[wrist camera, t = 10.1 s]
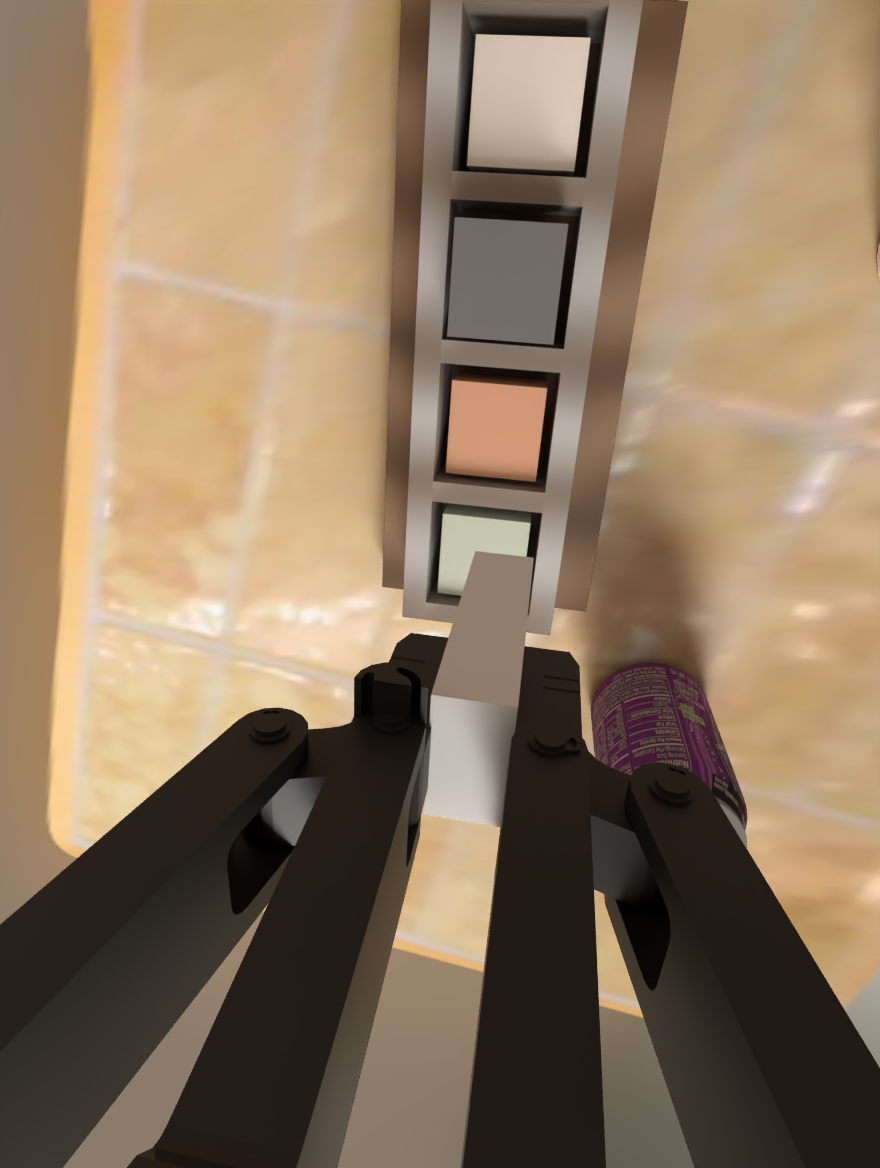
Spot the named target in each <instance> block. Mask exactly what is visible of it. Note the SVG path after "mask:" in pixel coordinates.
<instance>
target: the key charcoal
mask: <svg viewBox="0 0 880 1168" xmlns="http://www.w3.org/2000/svg"><path fill="white" fill-rule="evenodd" d="M567 231H568V224H561V223H545V222H528V221H512V220H495V219H478V218H462V217H455V221H454V237H453V253H452V268H451V284H450V299H449V315H448V330H447V336H449V337H461V338H474V339H487V340H499V341H512V342H524V343H537V344H549V345H553V344H554V335H555V327H556V319H557V311H558V303H559V295H560V287H561V279H562V271H563V263H564V255H565V247H566V239H567Z"/></svg>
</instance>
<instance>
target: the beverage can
mask: <svg viewBox="0 0 880 1168" xmlns="http://www.w3.org/2000/svg"><path fill="white" fill-rule="evenodd" d="M591 720H592V731H593V741H594V752H595V758H596V759H597V760H599V761H600V762H602V763H603V764H605V765H607V766H609V767H611V768H613V769H615V770H618V771H621V772H623V773H626V774H629V775H632V773H633V771H634V770H635V769H636V768H638V767H640V766H641V765H643V764H648V763H654V762H660V763H668V764H673V765H676V766H679V767H682V768H684V769H687V770H689V771H690V772H692V773H693V774H695V775H697V776H698V777H700V778H701V779H702V780H703V781H704V782H705V784H706V785H707V786H708V787H709V788H710V789H711V791H712V793H713V794H714V796H715V797H716V799H717V801H718V802H719V804H720V806H721V807H722V809H723V811H724V812H725V814H726V816H727V817H728V819H729V821H730V822H731V824H732V826H733V827H734V829H735V830H736V832H737V834H738V835H739V837H740V839H741V840H742V842H743V844H744V845H745V847H746V848H747V839H746V834H745V829H746V825H747V809H746V804H745V801H744V798H743V795H742V792H741V790H740V787H739V784H738V782H737V779H736V776H735V773H734V771H733V768H732V765H731V763H730V760H729V757H728V755H727V752H726V749H725V746H724V744H723V741H722V738H721V736H720V733H719V730H718V728H717V725H716V722H715V720H714V717H713V714H712V711H711V709H710V706H709V703H708V701H707V698H706V695H705V693H704V691H703V689H702V688H701V686H700V685H699V684H698V683H697V682H696V681H695V680H694V679H693V678H692V677H691V676H690V675H688V674H687V673H685V672H683V671H681V670H679V669H677V668H675V667H672V666H668V665H663V664H655V663H646V664H638V665H633V666H630V667H627V668H624V669H622V670H620V671H618V672H616V673H614V674H613V675H611V676H610V677H609V678H608V679H606V680H605V681H604V682H603V683H602V685H601V686H600V687H599V689H598V690H597V692H596V694H595V696H594V698H593V701H592V706H591Z"/></svg>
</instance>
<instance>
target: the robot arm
mask: <svg viewBox="0 0 880 1168" xmlns="http://www.w3.org/2000/svg"><path fill="white" fill-rule="evenodd" d="M533 559H534V558H532V557H523V556H514V555H506V554H497V553H488V552H480V551H475V554H474V557H473V560H472V563H471V567H470V570H469V573H468V576H467V580H466V583H465V586H464V589H463V593H462V596H461V599H460V602H459V606H458V609H457V612H456V615H455V619H454V622H453V625H452V628H451V632H450V635H449V638H445V637H437V636H430V635H422V634H414V633H410V634H409V635H408V636H406V637H405V638H404V639H402V640H401V641H400V642H398V643H397V645H396V647H395V649H394V651H393V654H392V656H391V659H390V661H389V663H380V664H375V665H371V666H369V667H367V668H365V669H363V670H361V671H360V672H359V673H358V674H357V675H356V676H355V677H354V718H353V720H352V722H351V723H349V724H346V725H343V726H339V727H333V728H323V729H309V730H308V723H307V721H306V720H305V719H304V717H303V716H302V715H300V714H298V713H297V712H295V711H293V710H289V709H283V708H265V709H261V710H258V711H254V712H251V713H249V714H247V715H246V716H244V717H242V718H241V719H239V720H238V721H237V722H235V723H234V724H233V725H232V726H231V727H230V728H229V729H227V730H226V731H225V732H224V733H223V734H222V735H220V736H219V737H218V738H217V739H216V740H215V741H213V742H212V743H211V744H210V745H209V746H208V747H206V748H205V749H204V750H203V751H202V752H201V753H199V754H198V755H197V756H196V757H195V758H194V759H192V760H191V761H190V762H189V763H188V764H187V765H185V766H184V767H183V768H182V769H181V770H180V771H178V772H177V773H176V774H175V775H174V776H173V777H171V778H170V779H169V780H168V781H167V782H166V783H165V784H163V785H162V786H161V787H160V788H159V789H158V790H156V791H155V792H154V793H153V794H152V795H151V796H149V797H148V798H147V799H146V800H145V801H144V802H142V803H141V804H140V805H139V806H138V807H137V808H135V809H134V810H133V811H132V812H131V813H130V814H128V815H127V816H126V817H125V818H124V819H123V820H121V821H120V822H119V823H118V824H117V825H116V826H114V827H113V828H112V829H111V830H110V831H109V832H107V833H106V834H105V835H104V836H103V837H102V838H101V839H99V840H98V841H97V842H96V843H95V844H94V845H92V846H91V847H90V848H89V849H88V850H87V851H85V852H84V853H83V854H82V855H81V856H80V857H78V858H77V859H76V860H75V861H74V862H73V863H71V864H70V865H69V866H68V867H67V868H66V869H64V870H63V871H62V872H61V873H60V874H59V875H57V876H56V877H55V878H54V879H53V880H52V881H51V882H49V883H48V884H47V885H46V886H45V887H43V888H42V889H41V890H40V891H39V892H38V893H37V894H35V895H34V896H33V897H32V898H31V899H30V900H28V901H27V902H26V903H25V904H24V905H23V906H21V907H20V908H19V909H18V910H17V911H16V912H14V913H13V914H12V915H11V916H10V917H9V918H7V919H6V920H5V921H4V922H3V923H2V924H0V1168H63V1167H64V1165H65V1164H66V1163H67V1162H68V1160H69V1159H70V1158H71V1156H72V1155H73V1154H74V1153H75V1151H76V1150H77V1149H78V1148H79V1146H80V1145H81V1144H82V1142H83V1141H84V1140H85V1139H86V1137H87V1136H88V1135H89V1133H90V1132H91V1131H92V1130H93V1128H94V1127H95V1126H96V1124H97V1123H98V1122H99V1121H100V1119H101V1118H102V1117H103V1115H104V1114H105V1113H106V1112H107V1110H108V1109H109V1108H110V1106H111V1105H112V1104H113V1103H114V1101H115V1100H116V1099H117V1097H118V1096H119V1095H120V1094H121V1092H122V1091H123V1090H124V1088H125V1087H126V1086H127V1084H128V1083H129V1082H130V1081H131V1079H132V1078H133V1077H134V1075H135V1074H136V1073H137V1072H138V1070H139V1069H140V1068H141V1066H142V1065H143V1064H144V1063H145V1061H146V1060H147V1059H148V1057H149V1056H150V1055H151V1054H152V1052H153V1051H154V1050H155V1048H156V1047H157V1046H158V1045H159V1043H160V1042H161V1040H162V1039H163V1038H164V1037H165V1036H166V1034H167V1033H168V1032H169V1030H170V1029H171V1028H172V1027H173V1025H174V1024H175V1023H176V1021H177V1020H178V1019H179V1018H180V1016H181V1015H182V1014H183V1012H184V1011H185V1010H186V1009H187V1007H188V1006H189V1005H190V1003H191V1002H192V1001H193V1000H194V998H195V997H196V996H197V995H198V993H199V992H200V991H201V989H202V988H203V987H204V985H205V984H206V983H207V982H208V980H209V979H210V978H211V976H212V975H213V974H214V973H215V971H216V970H217V969H218V967H219V966H220V965H221V964H222V962H223V961H224V960H225V958H226V957H227V956H228V955H229V953H230V952H231V951H232V949H233V948H234V947H235V945H236V944H237V943H238V942H239V940H240V939H241V938H242V937H243V935H244V934H245V933H246V931H247V930H248V929H249V928H250V926H251V925H252V924H253V922H254V921H255V920H256V919H257V917H258V916H259V915H260V913H261V912H262V911H263V910H264V908H265V907H266V906H267V904H268V903H269V904H268V906H267V908H266V910H265V912H264V914H263V917H262V919H261V921H260V923H259V925H258V928H257V930H256V932H255V934H254V936H253V939H252V941H251V943H250V945H249V947H248V949H247V952H246V954H245V956H244V958H243V961H242V963H241V965H240V967H239V969H238V971H237V974H236V976H235V978H234V980H233V982H232V984H231V987H230V989H229V991H228V993H227V995H226V998H225V1000H224V1002H223V1004H222V1006H221V1009H220V1011H219V1013H218V1015H217V1017H216V1020H215V1022H214V1024H213V1026H212V1028H211V1030H210V1033H209V1035H208V1037H207V1039H206V1041H205V1043H204V1046H203V1048H202V1050H201V1052H200V1054H199V1057H198V1059H197V1061H196V1063H195V1065H194V1068H193V1070H192V1072H191V1074H190V1076H189V1079H188V1081H187V1083H186V1085H185V1087H184V1089H183V1092H182V1094H181V1096H180V1098H179V1101H178V1103H177V1105H176V1107H175V1109H174V1111H173V1113H172V1116H171V1118H170V1120H169V1122H168V1124H167V1126H166V1128H165V1130H164V1132H163V1134H162V1136H161V1138H160V1139H159V1140H158V1142H157V1143H156V1144H155V1145H154V1147H153V1148H151V1149H149V1150H147V1151H145V1152H143V1153H141V1154H139V1155H137V1156H136V1157H135V1158H134V1159H133V1161H132V1162H131V1163H130V1164H129V1166H128V1167H127V1168H337V1167H338V1162H339V1159H340V1155H341V1150H342V1147H343V1142H344V1139H345V1135H346V1130H347V1126H348V1122H349V1118H350V1114H351V1110H352V1106H353V1102H354V1098H355V1094H356V1090H357V1086H358V1082H359V1078H360V1074H361V1070H362V1066H363V1062H364V1058H365V1054H366V1050H367V1046H368V1042H369V1038H370V1034H371V1029H372V1026H373V1021H374V1017H375V1014H376V1010H377V1005H378V1001H379V997H380V994H381V990H382V985H383V981H384V977H385V973H386V969H387V965H388V961H389V957H390V953H391V949H392V945H393V941H394V937H395V933H396V929H397V925H398V921H399V917H400V913H401V909H402V905H403V901H404V897H405V893H406V889H407V885H408V881H409V877H410V873H411V869H412V865H413V861H414V857H415V853H416V849H417V845H418V840H419V836H420V821H421V813H422V809H423V805H424V815H430V816H436V817H442V818H448V819H454V820H460V821H466V822H472V823H478V824H484V825H491V826H497V827H501V829H500V837H499V845H498V853H497V860H496V868H495V876H494V887H493V896H492V904H491V913H490V921H489V930H488V938H487V947H486V955H485V964H484V973H483V981H482V990H481V998H480V1007H479V1015H478V1024H477V1032H476V1041H475V1050H474V1058H473V1067H472V1075H471V1084H470V1092H469V1101H468V1109H467V1118H466V1126H465V1135H464V1143H463V1153H462V1161H461V1168H606V1159H605V1136H604V1113H603V1089H602V1068H601V1067H602V1066H601V1044H600V1020H599V997H598V974H597V951H596V927H595V904H594V889H595V890H597V891H599V892H601V893H603V894H604V897H605V905H606V908H607V911H608V914H609V917H610V920H611V923H612V926H613V928H614V931H615V934H616V937H617V940H618V943H619V946H620V949H621V952H622V955H623V958H624V961H625V964H626V967H627V970H628V973H629V976H630V979H631V982H632V984H633V987H634V990H635V993H636V996H637V999H638V1002H639V1005H640V1008H641V1011H642V1014H643V1017H644V1020H645V1023H646V1026H647V1029H648V1032H649V1034H650V1037H651V1040H652V1043H653V1046H654V1049H655V1052H656V1055H657V1058H658V1061H659V1064H660V1067H661V1070H662V1073H663V1076H664V1079H665V1081H666V1085H667V1088H668V1091H669V1093H670V1096H671V1099H672V1102H673V1105H674V1108H675V1111H676V1114H677V1117H678V1120H679V1123H680V1126H681V1129H682V1131H683V1135H684V1138H685V1141H686V1144H687V1146H688V1149H689V1152H690V1155H691V1158H692V1161H693V1164H694V1167H695V1168H880V1068H879V1066H878V1065H877V1063H876V1061H875V1060H874V1058H873V1056H872V1055H871V1053H870V1051H869V1050H868V1048H867V1046H866V1045H865V1043H864V1041H863V1040H862V1038H861V1036H860V1035H859V1033H858V1031H857V1030H856V1028H855V1027H854V1025H853V1023H852V1022H851V1020H850V1018H849V1017H848V1015H847V1013H846V1012H845V1010H844V1008H843V1007H842V1005H841V1003H840V1002H839V1000H838V999H837V997H836V995H835V994H834V992H833V990H832V989H831V987H830V985H829V984H828V982H827V980H826V979H825V977H824V975H823V974H822V972H821V971H820V969H819V967H818V966H817V964H816V962H815V961H814V959H813V957H812V956H811V954H810V952H809V951H808V949H807V947H806V946H805V944H804V943H803V941H802V939H801V938H800V936H799V934H798V933H797V931H796V929H795V928H794V926H793V924H792V923H791V921H790V919H789V918H788V916H787V914H786V913H785V911H784V910H783V908H782V906H781V905H780V903H779V901H778V900H777V898H776V896H775V895H774V893H773V891H772V890H771V888H770V886H769V885H768V883H767V882H766V880H765V878H764V877H763V875H762V873H761V872H760V870H759V868H758V867H757V865H756V863H755V862H754V860H753V858H752V857H751V855H750V854H749V852H748V850H747V849H746V847H745V845H744V844H743V842H742V840H741V839H740V837H739V835H738V834H737V832H736V830H735V829H734V827H733V826H732V824H731V822H730V821H729V819H728V817H727V816H726V814H725V812H724V811H723V809H722V807H721V806H720V804H719V802H718V801H717V799H716V797H715V796H714V794H713V793H712V791H711V789H710V788H709V787H708V786H707V785H706V784H705V782H704V781H703V780H702V779H701V778H700V777H698V776H697V775H695V774H693V773H692V772H690V771H689V770H687V769H684V768H682V767H679V766H676V765H673V764H668V763H660V762H654V763H648V764H643V765H641V766H640V767H638V768H636V769H635V770H634V771H633V773H632V775H629V774H626V773H623V772H621V771H618V770H615V769H613V768H611V767H609V766H607V765H605V764H603V763H602V762H600V761H599V760H597V759H596V758H595V757H594V756H593V755H592V754H591V753H590V752H589V751H588V749H587V746H586V743H585V740H584V739H583V738H582V724H581V697H580V669H579V665H578V663H577V662H576V661H575V659H574V658H573V657H572V655H571V654H570V652H564V651H556V650H549V649H541V648H534V647H526V646H525V636H526V626H527V617H528V607H529V598H530V588H531V578H532V569H533ZM424 801H425V803H424Z"/></svg>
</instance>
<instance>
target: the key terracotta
mask: <svg viewBox="0 0 880 1168" xmlns="http://www.w3.org/2000/svg"><path fill="white" fill-rule="evenodd" d="M547 383H548V380H539V379H528V378H516V377H504V376H492V375H481V374H469V373H459V374H458V375H457V376H456V377H455V378H454V379H453V380H452V390H451V404H450V419H449V433H448V448H447V462H446V473H453V474H463V475H473V476H483V477H492V478H502V479H512V480H522V481H532V482H536V475H537V467H538V459H539V451H540V443H541V435H542V427H543V419H544V411H545V403H546V395H547Z"/></svg>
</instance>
